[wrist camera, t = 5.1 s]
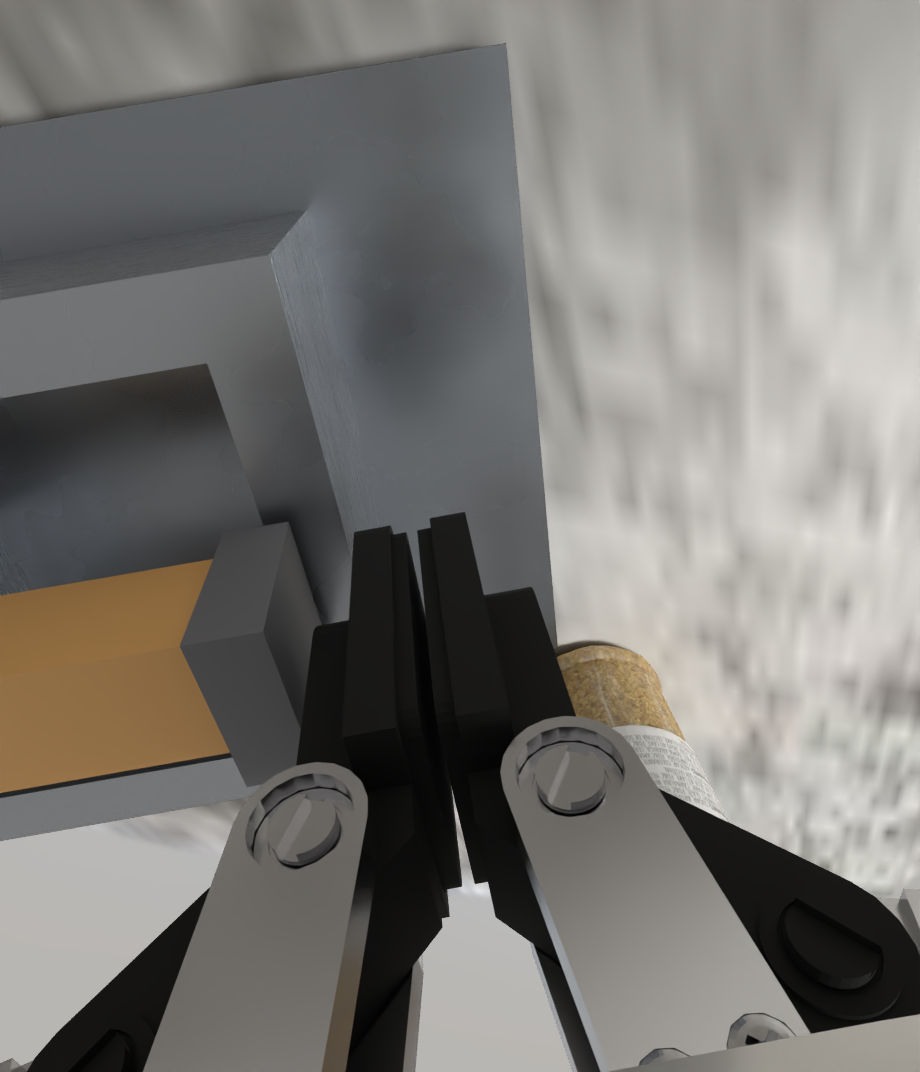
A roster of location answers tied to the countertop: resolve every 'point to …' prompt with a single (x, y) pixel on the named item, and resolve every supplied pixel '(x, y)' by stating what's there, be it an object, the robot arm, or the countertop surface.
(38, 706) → the lock bar
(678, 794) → the sprinkles bottle
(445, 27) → the countertop surface
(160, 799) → the dock
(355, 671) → the robot arm
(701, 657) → the countertop surface
